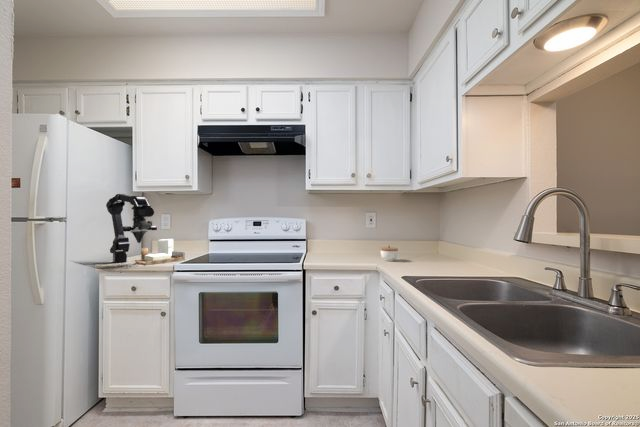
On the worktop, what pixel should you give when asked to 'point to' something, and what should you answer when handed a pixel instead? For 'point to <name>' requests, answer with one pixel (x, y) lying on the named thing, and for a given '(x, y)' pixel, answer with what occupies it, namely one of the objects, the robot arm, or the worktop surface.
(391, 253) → the lidded jar
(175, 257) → the rail base
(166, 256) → the socket block
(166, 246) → the supplement box
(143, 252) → the dowel
